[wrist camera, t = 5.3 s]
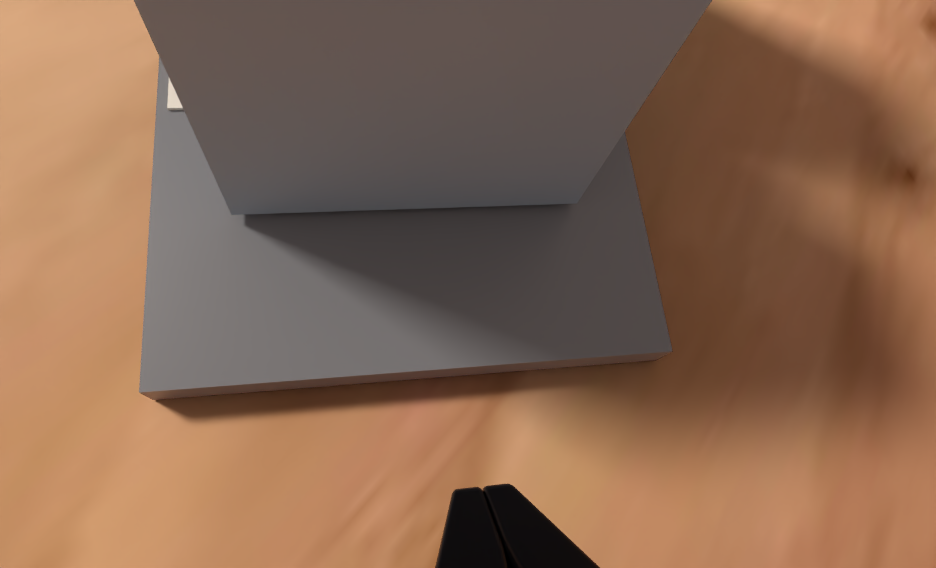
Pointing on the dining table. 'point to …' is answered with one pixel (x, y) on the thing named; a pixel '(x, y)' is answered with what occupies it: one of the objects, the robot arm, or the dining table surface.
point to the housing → (385, 284)
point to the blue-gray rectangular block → (411, 95)
